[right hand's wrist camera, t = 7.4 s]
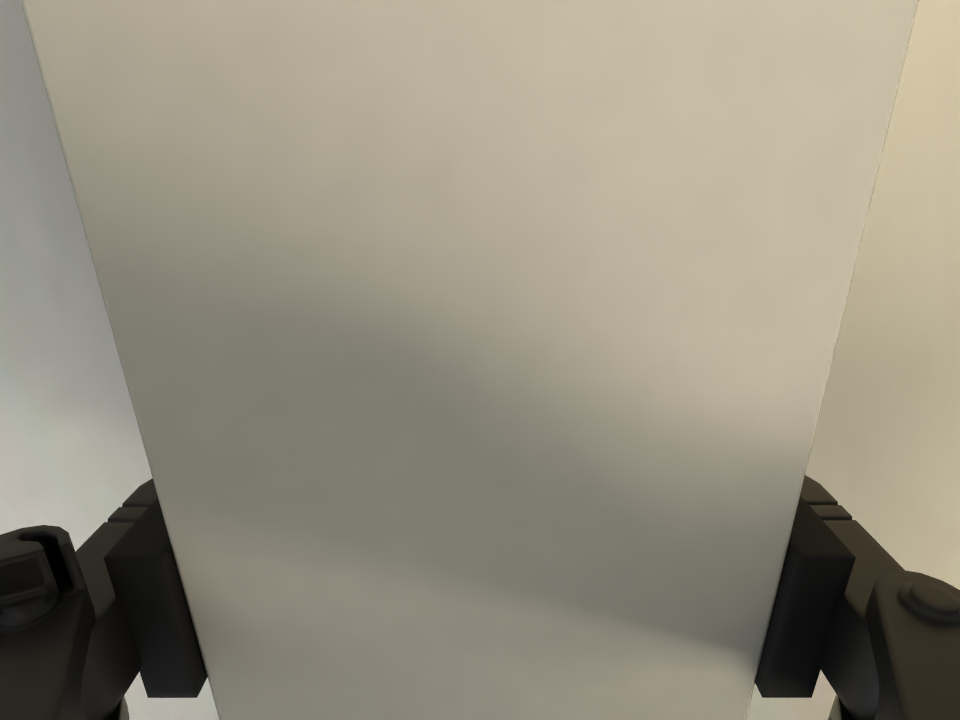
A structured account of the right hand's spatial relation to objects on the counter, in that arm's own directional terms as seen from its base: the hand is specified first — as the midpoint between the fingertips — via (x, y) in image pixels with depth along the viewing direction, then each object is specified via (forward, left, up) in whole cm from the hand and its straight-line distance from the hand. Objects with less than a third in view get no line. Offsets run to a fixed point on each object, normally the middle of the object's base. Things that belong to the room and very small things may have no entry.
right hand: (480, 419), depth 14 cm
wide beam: (+12, -21, -1) cm, 25 cm away
